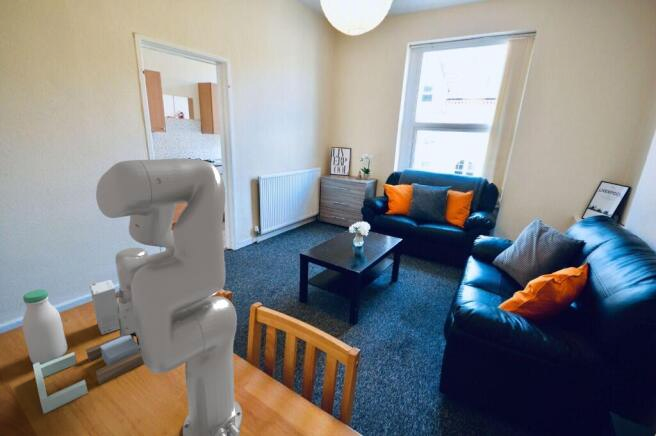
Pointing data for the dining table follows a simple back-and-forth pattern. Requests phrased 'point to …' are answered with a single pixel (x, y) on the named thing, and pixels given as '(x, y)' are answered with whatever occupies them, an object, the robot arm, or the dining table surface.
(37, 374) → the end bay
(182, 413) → the dining table surface
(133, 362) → the brown parallel rails
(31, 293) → the milk bottle
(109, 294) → the skincare box
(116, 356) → the block
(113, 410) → the dining table surface
